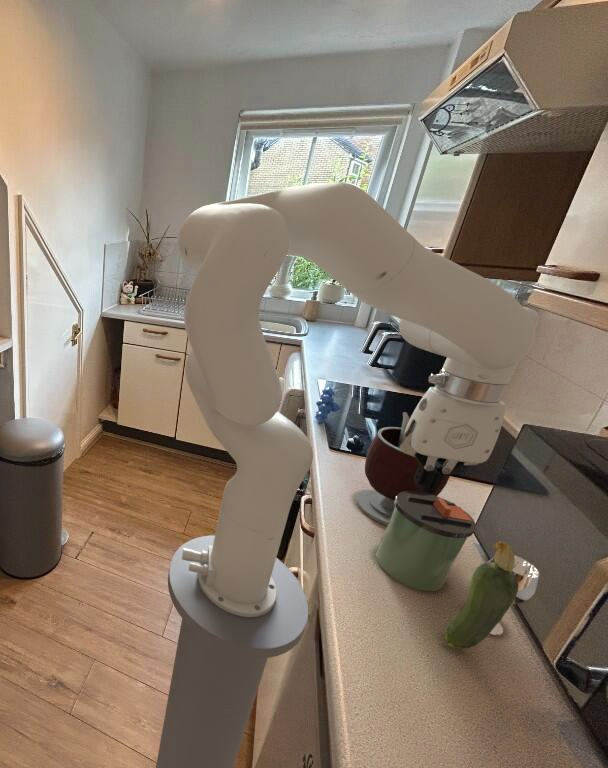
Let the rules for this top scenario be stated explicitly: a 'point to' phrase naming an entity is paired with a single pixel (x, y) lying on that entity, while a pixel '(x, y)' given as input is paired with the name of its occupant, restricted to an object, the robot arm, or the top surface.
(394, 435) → the mate gourd
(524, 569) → the wineglass
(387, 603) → the top surface
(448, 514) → the shutter
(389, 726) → the top surface
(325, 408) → the grapes
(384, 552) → the travel mug
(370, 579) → the top surface
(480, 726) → the top surface
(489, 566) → the vegetable
